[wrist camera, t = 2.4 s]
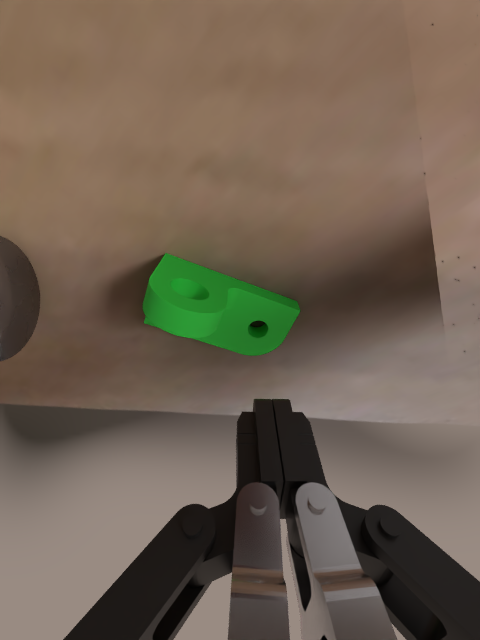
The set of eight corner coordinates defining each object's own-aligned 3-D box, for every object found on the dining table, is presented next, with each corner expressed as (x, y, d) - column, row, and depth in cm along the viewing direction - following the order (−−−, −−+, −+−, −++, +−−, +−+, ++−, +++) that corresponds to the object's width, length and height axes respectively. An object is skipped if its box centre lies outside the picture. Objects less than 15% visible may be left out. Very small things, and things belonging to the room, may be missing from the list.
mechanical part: (149, 311, 27) (120, 367, 21) (166, 252, 25) (138, 294, 18) (268, 350, 30) (278, 412, 23) (296, 300, 27) (316, 353, 20)
